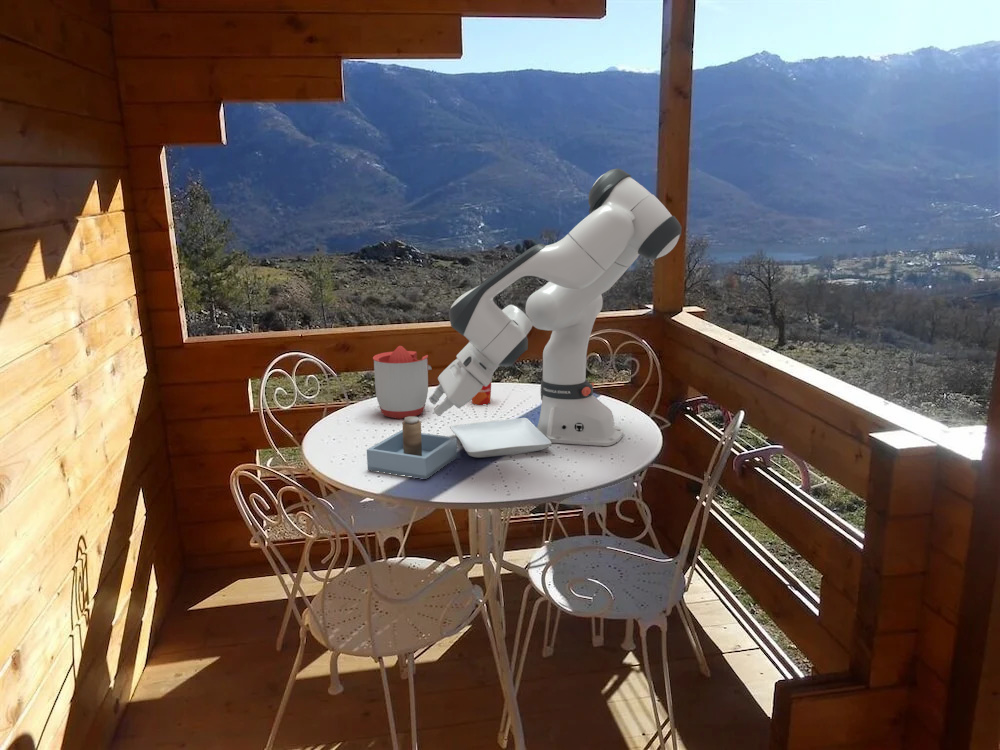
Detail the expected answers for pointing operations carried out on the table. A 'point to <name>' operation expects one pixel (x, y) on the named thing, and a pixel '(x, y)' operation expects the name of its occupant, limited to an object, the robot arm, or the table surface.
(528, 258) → the robot arm
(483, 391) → the paper cup
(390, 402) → the citrus juicer
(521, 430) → the salad plate
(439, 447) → the slate blue bin
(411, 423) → the walnut pepper mill
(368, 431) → the table surface
